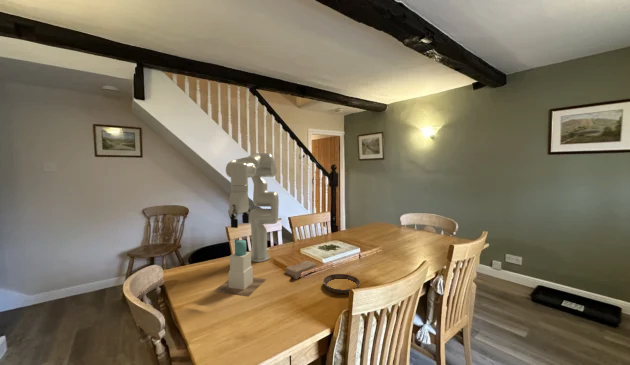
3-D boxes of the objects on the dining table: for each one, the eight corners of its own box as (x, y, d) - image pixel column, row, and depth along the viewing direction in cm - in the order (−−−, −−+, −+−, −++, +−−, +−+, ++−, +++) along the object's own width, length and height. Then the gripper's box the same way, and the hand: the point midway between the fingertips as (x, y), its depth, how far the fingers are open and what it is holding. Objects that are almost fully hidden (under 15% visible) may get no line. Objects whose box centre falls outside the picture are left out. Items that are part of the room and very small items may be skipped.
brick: (306, 267, 149) (306, 259, 149) (317, 271, 143) (317, 262, 143) (285, 276, 137) (284, 267, 137) (295, 280, 131) (295, 271, 131)
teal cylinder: (238, 251, 125) (238, 239, 125) (248, 252, 124) (248, 240, 123) (232, 255, 120) (232, 242, 120) (242, 256, 119) (242, 243, 118)
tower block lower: (238, 280, 128) (238, 264, 127) (252, 282, 125) (252, 266, 125) (228, 287, 120) (228, 270, 119) (244, 289, 118) (243, 272, 117)
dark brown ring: (336, 276, 137) (336, 270, 137) (366, 285, 125) (366, 279, 125) (315, 288, 123) (315, 282, 123) (347, 300, 112) (347, 293, 112)
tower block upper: (238, 265, 126) (238, 251, 126) (251, 266, 125) (250, 252, 124) (230, 270, 120) (229, 255, 119) (243, 272, 118) (243, 257, 117)
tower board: (235, 277, 134) (235, 275, 134) (266, 281, 129) (266, 279, 129) (212, 294, 116) (212, 291, 116) (248, 299, 112) (248, 296, 112)
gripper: (242, 187, 129) (242, 221, 130) (221, 190, 113) (222, 229, 114) (255, 187, 127) (256, 221, 128) (236, 191, 111) (237, 230, 112)
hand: (240, 225), depth 121 cm, fingers open, 9 cm apart
